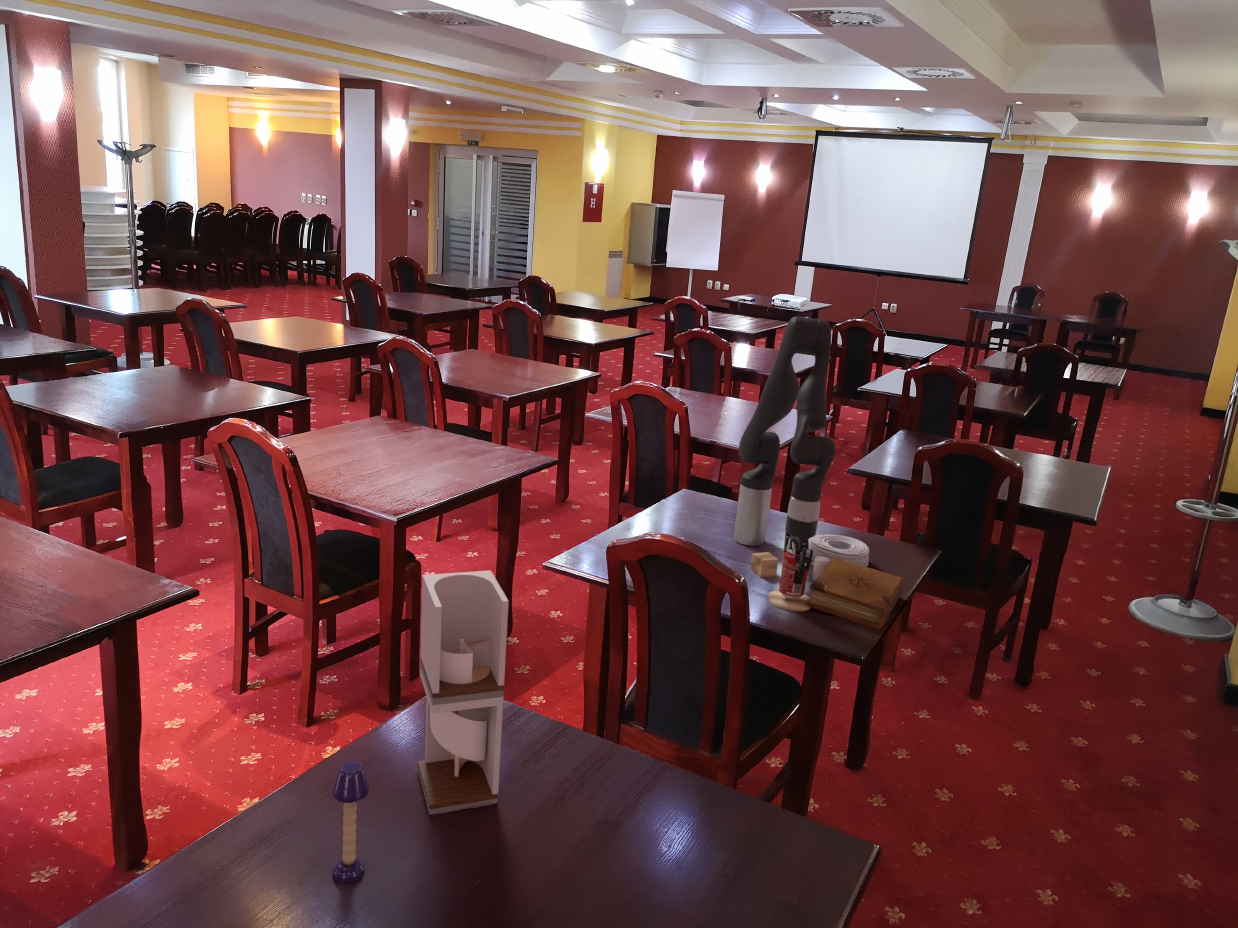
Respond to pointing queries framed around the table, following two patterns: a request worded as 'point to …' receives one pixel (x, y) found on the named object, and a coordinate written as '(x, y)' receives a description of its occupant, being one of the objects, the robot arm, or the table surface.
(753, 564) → the oak block
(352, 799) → the toy lamp
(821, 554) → the cable
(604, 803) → the table surface
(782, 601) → the coaster
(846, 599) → the diary
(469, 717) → the display case
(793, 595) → the beverage can
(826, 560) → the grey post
